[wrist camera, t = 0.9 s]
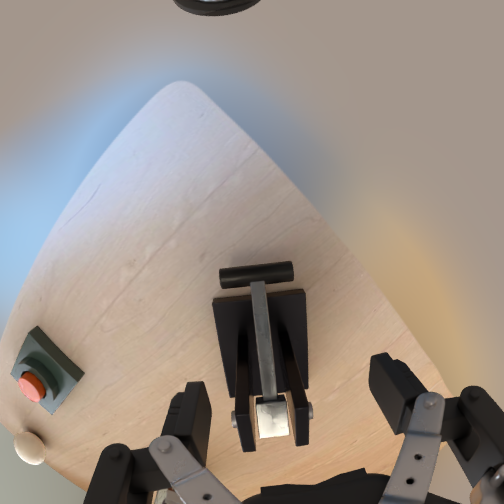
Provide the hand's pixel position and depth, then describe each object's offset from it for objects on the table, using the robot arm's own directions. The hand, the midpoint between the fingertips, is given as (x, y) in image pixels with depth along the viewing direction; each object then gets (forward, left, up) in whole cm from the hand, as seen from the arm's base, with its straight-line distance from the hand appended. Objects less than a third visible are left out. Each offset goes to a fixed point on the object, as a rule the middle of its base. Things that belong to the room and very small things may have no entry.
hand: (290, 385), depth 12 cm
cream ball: (+17, -53, -17) cm, 58 cm away
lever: (+3, -2, -9) cm, 9 cm away
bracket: (+7, -3, -16) cm, 18 cm away
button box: (+3, -34, -16) cm, 38 cm away
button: (+3, -34, -13) cm, 36 cm away
